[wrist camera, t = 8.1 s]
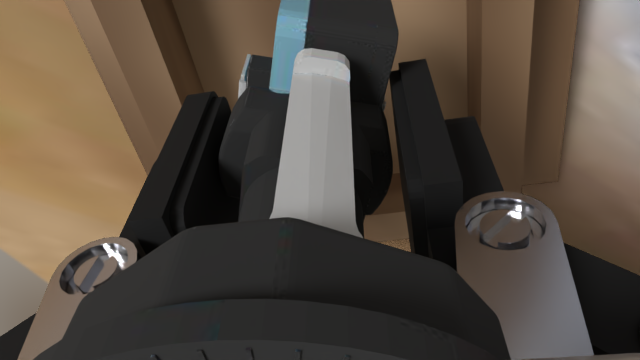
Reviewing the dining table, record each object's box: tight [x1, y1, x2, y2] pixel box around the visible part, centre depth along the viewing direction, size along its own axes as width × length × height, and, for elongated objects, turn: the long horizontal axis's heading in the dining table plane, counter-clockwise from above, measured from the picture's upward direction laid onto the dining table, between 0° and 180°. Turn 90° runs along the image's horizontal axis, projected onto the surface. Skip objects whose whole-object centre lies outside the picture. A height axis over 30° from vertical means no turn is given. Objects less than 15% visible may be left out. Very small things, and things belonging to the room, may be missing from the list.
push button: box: [33, 0, 511, 360], centre depth 9 cm, size 7×5×10 cm
